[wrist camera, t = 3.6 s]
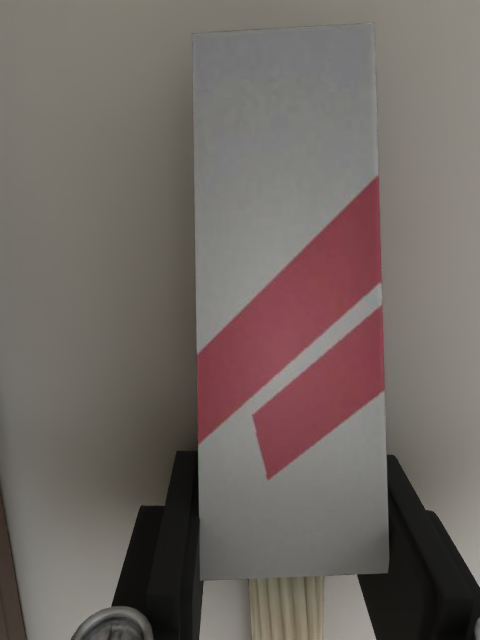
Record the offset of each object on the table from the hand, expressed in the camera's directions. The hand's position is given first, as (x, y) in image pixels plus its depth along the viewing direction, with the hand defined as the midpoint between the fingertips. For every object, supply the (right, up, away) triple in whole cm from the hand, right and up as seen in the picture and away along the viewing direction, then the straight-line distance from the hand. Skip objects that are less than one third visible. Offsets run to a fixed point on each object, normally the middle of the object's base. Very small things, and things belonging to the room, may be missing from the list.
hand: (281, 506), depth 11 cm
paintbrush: (0, 0, +1) cm, 1 cm away
